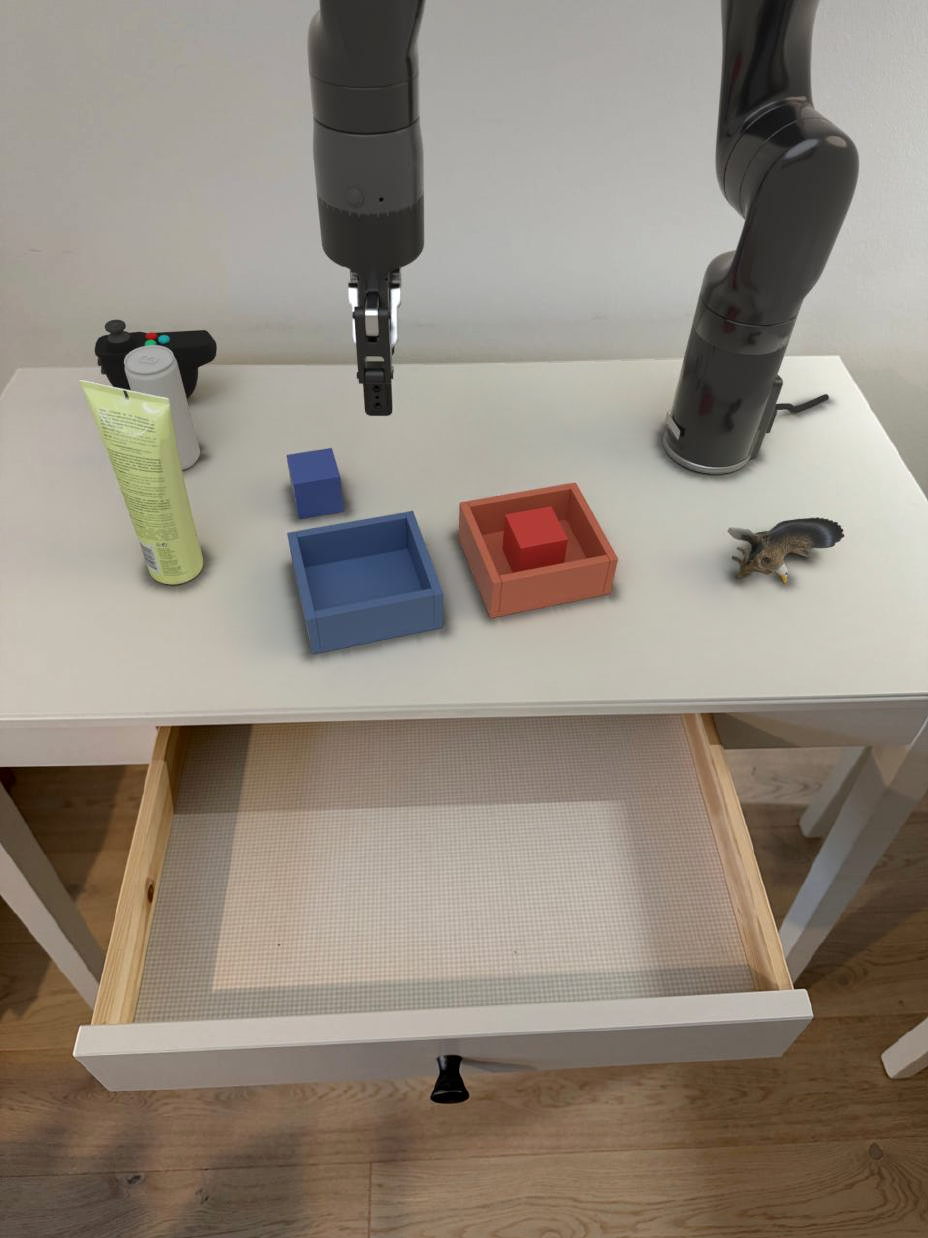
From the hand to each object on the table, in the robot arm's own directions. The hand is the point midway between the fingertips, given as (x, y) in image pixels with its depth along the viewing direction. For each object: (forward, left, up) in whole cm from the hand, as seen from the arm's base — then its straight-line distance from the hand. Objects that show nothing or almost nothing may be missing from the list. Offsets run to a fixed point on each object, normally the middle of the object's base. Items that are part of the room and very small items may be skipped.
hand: (380, 382), depth 73 cm
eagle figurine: (-34, +15, -17) cm, 41 cm away
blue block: (+6, -5, -16) cm, 18 cm away
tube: (+20, +1, -16) cm, 26 cm away
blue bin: (+4, +9, -16) cm, 19 cm away
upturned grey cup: (+19, -15, -16) cm, 29 cm away
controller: (+19, -25, -16) cm, 36 cm away
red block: (-12, +9, -16) cm, 22 cm away
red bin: (-12, +9, -16) cm, 22 cm away
